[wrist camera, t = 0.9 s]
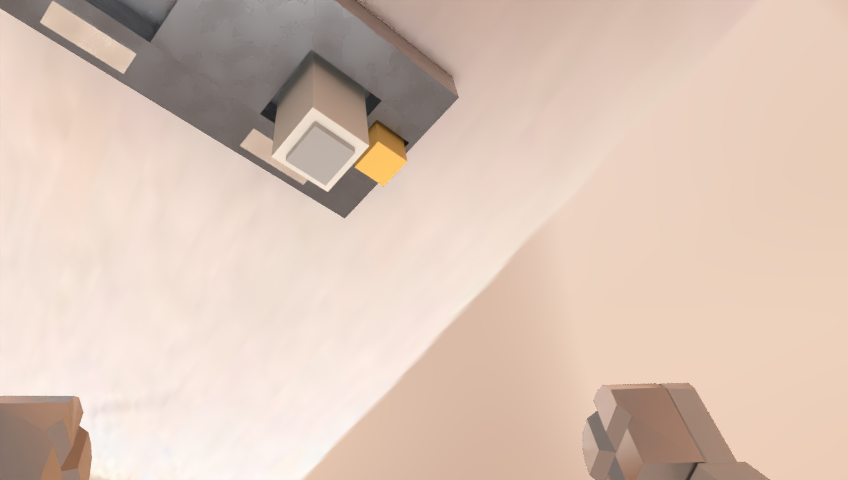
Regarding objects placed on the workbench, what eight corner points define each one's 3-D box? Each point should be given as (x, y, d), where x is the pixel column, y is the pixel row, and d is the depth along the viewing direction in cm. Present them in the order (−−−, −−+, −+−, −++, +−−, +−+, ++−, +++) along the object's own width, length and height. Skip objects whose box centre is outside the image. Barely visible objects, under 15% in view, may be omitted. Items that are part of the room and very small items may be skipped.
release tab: (374, 111, 48) (378, 141, 45) (401, 131, 49) (407, 161, 46) (352, 136, 49) (354, 167, 46) (379, 155, 50) (383, 186, 47)
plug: (314, 49, 46) (312, 112, 39) (363, 85, 48) (370, 151, 41) (278, 94, 47) (270, 162, 41) (327, 127, 49) (327, 197, 42)
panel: (79, -220, 36) (61, -213, 34) (452, 77, 48) (458, 98, 46) (-18, -33, 41) (-40, -15, 39) (344, 194, 53) (344, 219, 51)
